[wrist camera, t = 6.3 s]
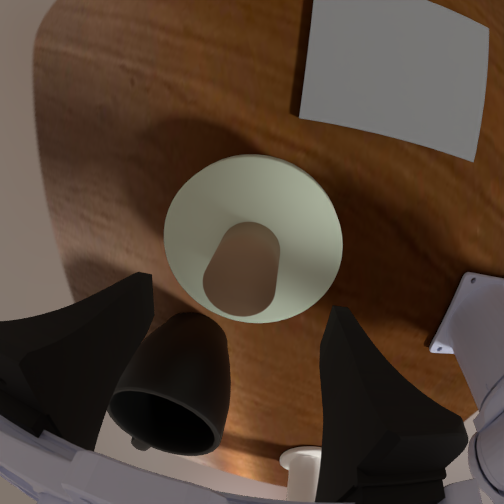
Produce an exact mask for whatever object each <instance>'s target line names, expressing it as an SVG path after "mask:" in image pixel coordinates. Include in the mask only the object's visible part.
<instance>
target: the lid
mask: <svg viewBox="0 0 504 504" xmlns="http://www.w3.org/2000/svg"><path fill="white" fill-rule="evenodd" d="M164 246H165V253H166V256H167V260H168V263H169V265H170V267H171V270H172V272H173V274H174V275H175V277H176V279H177V281H178V282H179V283H180V285H181V286H182V287H183V289H184V290H185V291H186V292H187V293H188V294H189V295H190V296H191V297H192V298H193V299H194V300H196V301H197V302H198V303H199V304H201V305H202V306H204V307H205V308H207V309H208V310H210V311H212V312H214V313H216V314H218V315H221V316H223V317H226V318H229V319H233V320H236V321H242V322H248V323H268V322H275V321H280V320H284V319H287V318H290V317H292V316H295V315H297V314H299V313H301V312H303V311H305V310H307V309H308V308H309V307H311V306H312V305H313V304H315V303H316V302H317V301H318V300H319V299H320V298H321V297H322V296H323V295H324V294H325V293H326V291H327V290H328V289H329V288H330V286H331V284H332V283H333V281H334V279H335V277H336V275H337V272H338V270H339V267H340V263H341V259H342V250H343V243H342V232H341V227H340V223H339V220H338V218H337V215H336V212H335V209H334V206H333V204H332V202H331V200H330V199H329V197H328V195H327V194H326V192H325V191H324V190H323V188H322V187H321V186H320V185H319V184H318V183H317V181H316V180H315V179H314V178H313V177H311V176H310V175H309V174H308V173H306V172H305V171H304V170H302V169H301V168H299V167H297V166H295V165H294V164H292V163H289V162H287V161H285V160H282V159H279V158H275V157H272V156H266V155H259V154H244V155H237V156H232V157H228V158H225V159H221V160H219V161H217V162H215V163H212V164H210V165H209V166H207V167H206V168H204V169H202V170H201V171H200V172H198V173H197V174H195V175H194V176H193V177H192V178H191V179H189V180H188V181H187V182H186V183H185V184H184V185H183V186H182V188H181V189H180V190H179V191H178V193H177V194H176V196H175V197H174V199H173V201H172V203H171V205H170V207H169V209H168V212H167V216H166V220H165V226H164Z"/></svg>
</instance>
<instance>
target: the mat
mask: <svg viewBox="0 0 504 504" xmlns="http://www.w3.org/2000/svg"><path fill="white" fill-rule="evenodd" d="M488 49H489V28H487V27H485V26H483V25H481V24H479V23H477V22H475V21H473V20H471V19H469V18H467V17H465V16H463V15H460V14H458V13H456V12H454V11H452V10H449V9H447V8H445V7H442V6H440V5H437V4H435V3H432V2H430V1H427V0H314V1H313V10H312V19H311V27H310V36H309V44H308V52H307V60H306V68H305V76H304V84H303V91H302V99H301V106H300V113H299V118H302V119H308V120H314V121H320V122H325V123H331V124H336V125H341V126H346V127H351V128H355V129H360V130H364V131H369V132H373V133H377V134H381V135H385V136H389V137H393V138H397V139H401V140H404V141H408V142H412V143H415V144H419V145H422V146H425V147H429V148H432V149H435V150H439V151H442V152H445V153H448V154H451V155H454V156H457V157H460V158H463V159H466V160H468V161H471V162H474V158H475V153H476V148H477V143H478V138H479V132H480V126H481V120H482V113H483V106H484V98H485V90H486V80H487V67H488Z"/></svg>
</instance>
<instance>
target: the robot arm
mask: <svg viewBox="0 0 504 504" xmlns="http://www.w3.org/2000/svg"><path fill="white" fill-rule="evenodd" d="M472 278H474V279H473V280H472ZM471 280H472V281H471ZM153 317H154V302H153V286H152V274H147V273H142V272H137V273H135V274H133V275H131V276H129V277H127V278H125V279H123V280H121V281H119V282H117V283H115V284H113V285H112V286H110V287H108V288H106V289H104V290H102V291H100V292H98V293H96V294H94V295H92V296H90V297H88V298H86V299H84V300H81V301H79V302H77V303H74V304H72V305H70V306H67V307H64V308H61V309H59V310H55V311H52V312H48V313H45V314H42V315H38V316H34V317H29V318H24V319H18V320H11V321H0V476H1V477H3V478H4V479H5V480H7V481H8V482H9V483H11V484H12V485H14V486H15V487H17V488H18V489H19V490H21V491H22V492H23V493H25V494H26V495H28V496H29V497H31V498H33V499H34V500H36V501H37V504H482V500H481V496H480V491H479V488H480V489H481V490H482V491H483V492H485V493H486V494H487V495H488V496H489V498H490V499H491V500H492V502H493V503H494V504H504V278H499V277H493V276H488V275H483V274H478V273H472V272H467V273H465V274H464V275H463V277H462V279H461V281H460V284H459V286H458V288H457V291H456V293H455V295H454V298H453V300H452V302H451V304H450V306H449V308H448V310H447V313H446V315H445V317H444V319H443V321H442V323H441V325H440V327H439V329H438V331H437V333H436V335H435V337H434V338H433V340H432V342H431V344H430V346H429V350H430V352H432V353H451V354H455V356H456V359H457V361H458V363H459V365H460V367H461V370H462V372H463V374H464V376H465V379H466V381H467V383H468V386H469V388H470V390H471V393H472V395H473V398H474V400H475V403H476V405H477V408H478V410H479V414H478V416H477V417H476V418H475V419H474V420H473V422H474V425H475V427H476V430H477V432H476V433H475V434H474V435H473V436H472V438H471V440H470V442H469V447H468V464H469V469H470V472H471V475H472V477H473V479H470V480H465V481H461V482H456V483H452V484H449V485H447V486H445V487H443V481H442V480H443V479H445V478H446V470H445V467H447V466H448V465H449V464H450V463H451V462H452V461H453V460H454V459H455V458H457V457H458V456H459V455H460V454H461V453H462V452H463V450H464V449H465V447H466V445H467V444H468V436H467V433H466V429H465V427H464V423H463V420H462V418H461V417H460V416H459V415H457V414H455V413H453V412H451V411H450V410H448V409H446V408H444V407H442V406H441V405H439V404H438V403H436V402H435V401H433V400H432V399H430V398H429V397H427V396H426V395H425V394H423V393H422V392H421V391H419V390H418V389H417V388H416V387H415V386H413V385H412V384H411V383H410V382H409V381H407V380H406V379H405V378H404V377H403V376H402V375H401V374H400V373H399V372H398V371H397V370H396V369H395V368H394V367H393V366H392V365H391V364H390V363H389V362H388V361H387V360H386V358H385V357H384V356H383V355H382V354H381V352H380V351H379V350H378V349H377V348H376V346H375V345H374V344H373V342H372V341H371V340H370V338H369V337H368V336H367V334H366V333H365V332H364V330H363V329H362V327H361V326H360V324H359V323H358V321H357V320H356V319H355V317H354V316H353V314H352V313H351V311H350V310H349V308H348V307H341V306H332V310H331V313H330V316H329V319H328V322H327V326H326V329H325V332H324V335H323V338H322V341H321V344H320V365H319V367H320V379H321V391H322V404H323V437H322V450H321V461H320V470H319V478H318V485H317V491H316V497H315V502H297V501H283V500H273V499H264V498H256V497H249V496H242V495H236V494H230V493H225V492H219V491H214V490H212V489H210V488H206V487H203V486H199V485H196V484H193V483H190V482H186V481H182V480H178V479H174V478H171V477H167V476H164V475H160V474H157V473H153V472H150V471H147V470H144V469H141V468H138V467H135V466H132V465H129V464H127V463H124V462H121V461H118V460H116V459H113V458H111V457H108V456H105V455H103V454H100V453H96V452H94V449H95V445H96V441H97V437H98V434H99V431H100V428H101V425H102V422H103V419H104V416H105V413H106V411H107V408H108V405H109V403H110V400H111V398H112V395H113V393H114V391H115V388H116V386H117V384H118V381H119V379H120V377H121V376H122V374H123V372H124V370H125V369H126V367H127V365H128V364H129V362H130V360H131V359H132V357H133V355H134V354H135V352H136V350H137V349H138V347H139V345H140V344H141V342H142V340H143V339H144V337H145V335H146V334H147V331H148V329H149V327H150V324H151V322H152V320H153Z"/></svg>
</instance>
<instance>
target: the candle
mask: <svg viewBox="0 0 504 504" xmlns="http://www.w3.org/2000/svg"><path fill="white" fill-rule="evenodd" d="M321 450H322V447H317V446H302V447H296V448H292V449H289V450H287V451H285V452H284V453H283V454H282V455H281V456H280V464H281V466H282V467H284V468H285V469H287V470H289V476H288V488H287V498H286V501H297V502H315V497H316V491H317V485H318V478H319V470H320V461H321Z"/></svg>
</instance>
